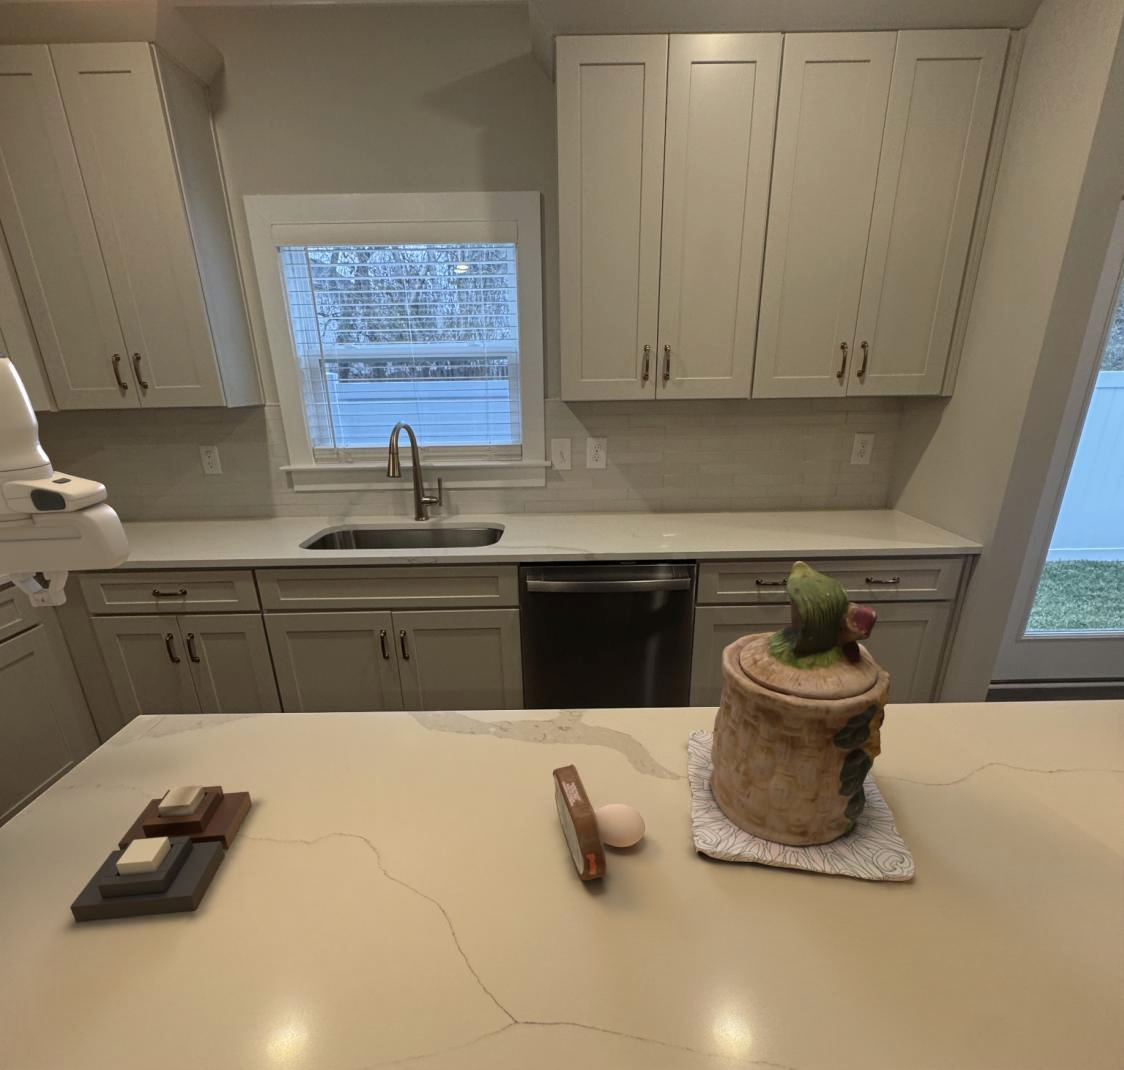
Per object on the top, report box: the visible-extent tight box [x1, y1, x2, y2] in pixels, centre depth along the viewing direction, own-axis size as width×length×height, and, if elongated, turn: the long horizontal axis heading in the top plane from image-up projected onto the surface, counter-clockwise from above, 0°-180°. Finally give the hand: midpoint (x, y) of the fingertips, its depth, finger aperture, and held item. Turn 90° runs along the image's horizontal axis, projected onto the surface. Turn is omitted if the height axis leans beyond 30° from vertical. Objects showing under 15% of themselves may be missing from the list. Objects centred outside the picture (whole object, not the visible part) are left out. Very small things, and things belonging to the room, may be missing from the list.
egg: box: [594, 803, 646, 848], centre depth 74 cm, size 5×5×7 cm
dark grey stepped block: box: [69, 836, 226, 923], centre depth 68 cm, size 12×8×4 cm, turn 96°
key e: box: [158, 785, 205, 817], centre depth 75 cm, size 4×4×2 cm
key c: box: [116, 837, 171, 876], centre depth 67 cm, size 4×4×2 cm
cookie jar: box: [686, 560, 916, 882], centre depth 74 cm, size 25×25×32 cm
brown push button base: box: [117, 785, 253, 850], centre depth 76 cm, size 12×8×4 cm, turn 96°
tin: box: [552, 763, 607, 881], centre depth 72 cm, size 15×3×8 cm, turn 13°
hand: (50, 604), depth 76 cm, fingers closed
